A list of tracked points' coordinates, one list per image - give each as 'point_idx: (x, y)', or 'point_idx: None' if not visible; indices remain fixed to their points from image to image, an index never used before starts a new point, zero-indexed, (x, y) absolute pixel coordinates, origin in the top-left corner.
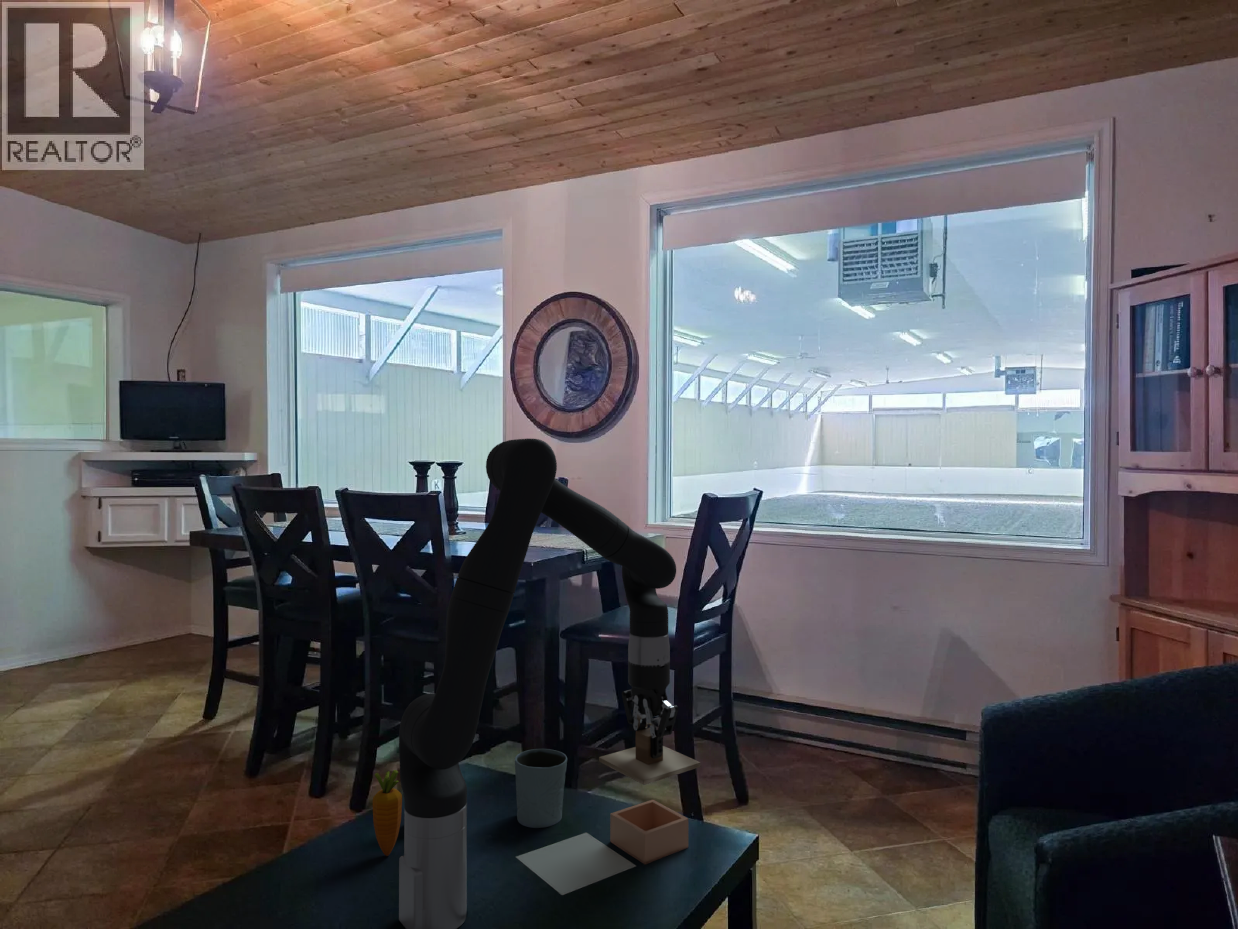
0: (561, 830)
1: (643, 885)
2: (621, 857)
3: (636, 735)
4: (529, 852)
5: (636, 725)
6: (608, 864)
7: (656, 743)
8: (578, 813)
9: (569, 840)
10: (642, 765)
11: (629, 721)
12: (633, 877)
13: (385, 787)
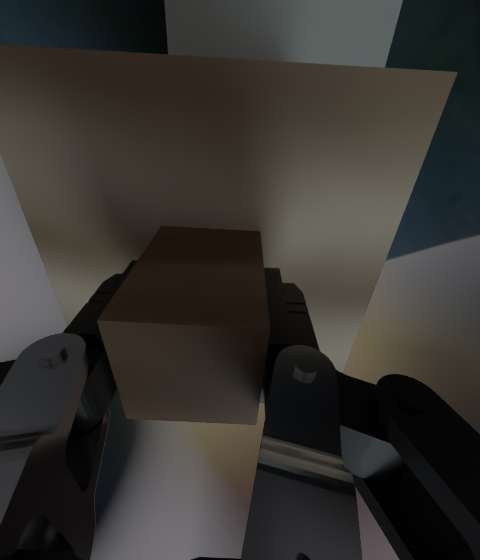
0: (451, 47)
1: (97, 32)
2: None
3: (255, 308)
4: None
5: (292, 384)
6: (214, 13)
7: (77, 320)
8: (462, 154)
9: (389, 10)
10: (170, 201)
11: (402, 396)
12: (140, 39)
13: None
